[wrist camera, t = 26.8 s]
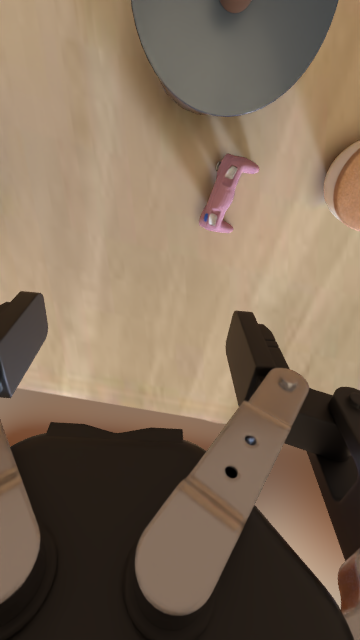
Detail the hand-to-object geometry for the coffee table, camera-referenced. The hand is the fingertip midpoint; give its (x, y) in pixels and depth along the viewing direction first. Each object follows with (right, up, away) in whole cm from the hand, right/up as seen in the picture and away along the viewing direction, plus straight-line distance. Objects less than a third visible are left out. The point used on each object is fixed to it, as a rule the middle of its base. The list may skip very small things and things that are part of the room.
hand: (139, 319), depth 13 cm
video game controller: (+8, +18, +29) cm, 35 cm away
